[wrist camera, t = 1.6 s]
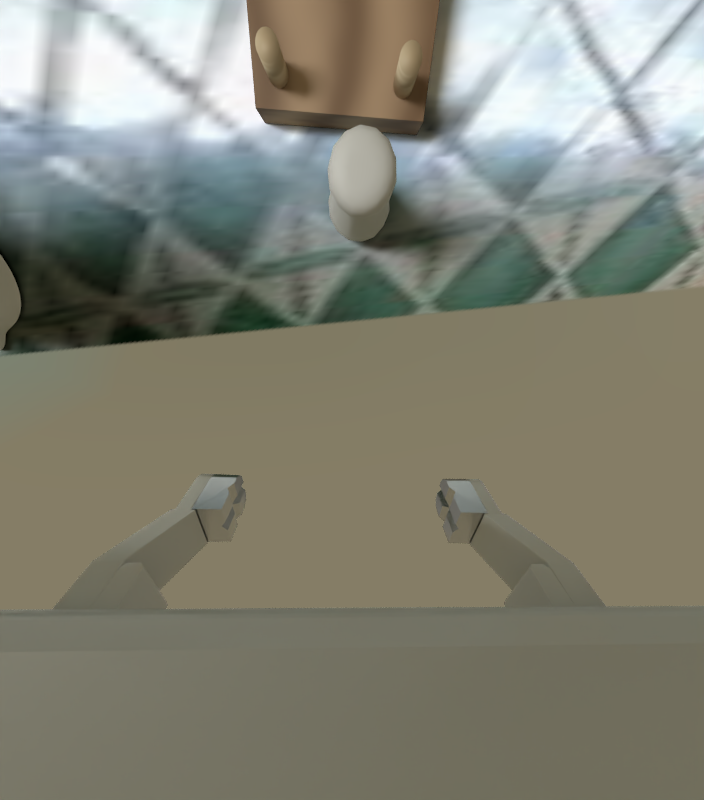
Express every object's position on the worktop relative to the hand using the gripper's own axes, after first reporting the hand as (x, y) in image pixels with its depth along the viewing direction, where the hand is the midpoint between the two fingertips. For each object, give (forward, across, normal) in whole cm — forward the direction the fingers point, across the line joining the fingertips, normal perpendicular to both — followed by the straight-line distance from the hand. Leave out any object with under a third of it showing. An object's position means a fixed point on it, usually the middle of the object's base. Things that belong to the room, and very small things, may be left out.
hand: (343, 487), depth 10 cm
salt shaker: (+25, +1, +13) cm, 28 cm away
